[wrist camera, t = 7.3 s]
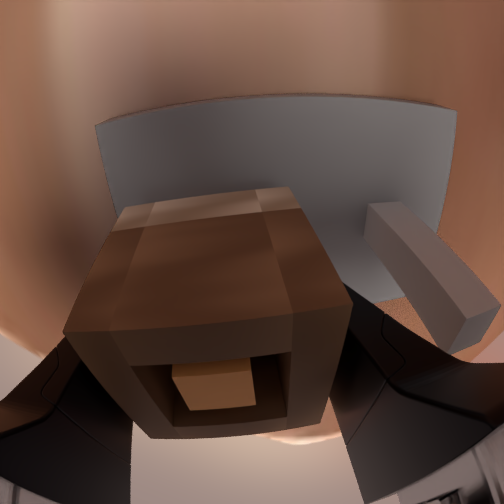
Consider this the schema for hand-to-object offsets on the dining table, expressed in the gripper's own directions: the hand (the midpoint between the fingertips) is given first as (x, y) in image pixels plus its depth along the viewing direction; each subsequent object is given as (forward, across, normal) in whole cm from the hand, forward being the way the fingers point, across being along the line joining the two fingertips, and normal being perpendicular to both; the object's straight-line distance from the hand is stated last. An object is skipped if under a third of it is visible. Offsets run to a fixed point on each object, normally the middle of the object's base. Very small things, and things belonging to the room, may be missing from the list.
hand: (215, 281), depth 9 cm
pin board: (+4, -3, 0) cm, 5 cm away
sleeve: (+1, 0, 0) cm, 1 cm away
